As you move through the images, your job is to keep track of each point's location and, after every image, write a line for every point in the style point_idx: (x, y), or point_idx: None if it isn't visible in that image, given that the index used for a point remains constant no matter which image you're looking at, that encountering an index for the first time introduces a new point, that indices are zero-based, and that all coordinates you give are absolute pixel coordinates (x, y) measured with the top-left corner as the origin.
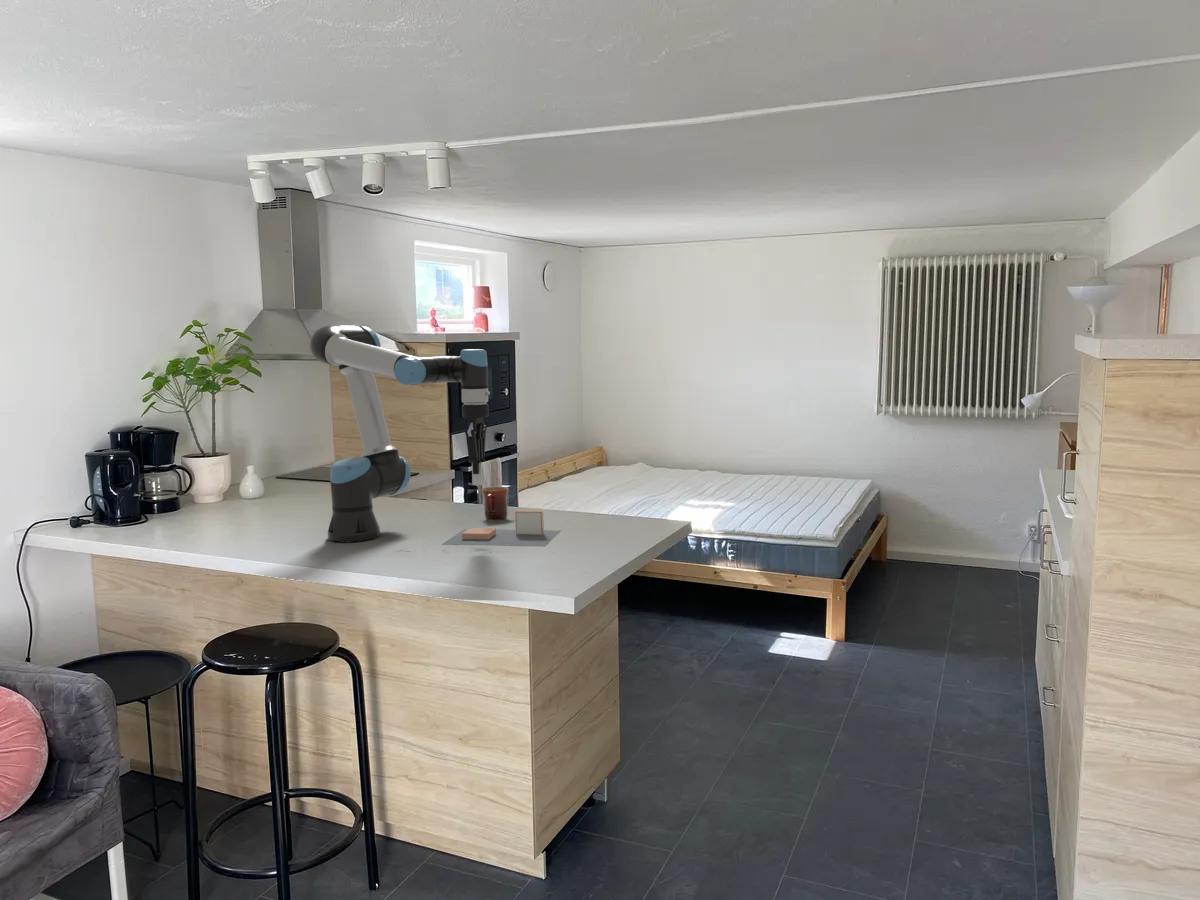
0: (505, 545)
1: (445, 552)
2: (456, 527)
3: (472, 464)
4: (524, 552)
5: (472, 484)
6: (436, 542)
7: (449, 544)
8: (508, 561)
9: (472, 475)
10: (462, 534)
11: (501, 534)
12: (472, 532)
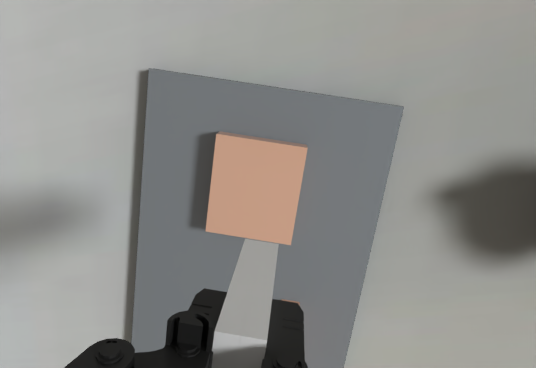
0: (135, 281)
1: (102, 94)
2: (517, 50)
3: (217, 326)
4: (112, 326)
5: (245, 240)
6: (249, 26)
7: (147, 99)
8: (13, 294)
9: (234, 271)
10: (217, 135)
11: (292, 253)
12: (230, 171)
